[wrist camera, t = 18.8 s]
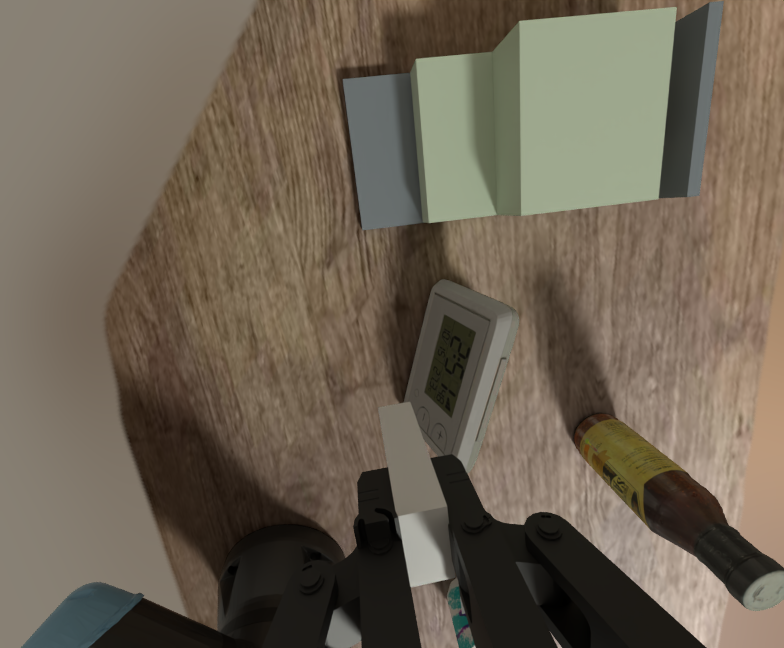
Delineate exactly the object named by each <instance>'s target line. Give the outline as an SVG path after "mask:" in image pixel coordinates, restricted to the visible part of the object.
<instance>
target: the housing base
mask: <svg viewBox="0 0 784 648" xmlns="http://www.w3.org/2000/svg"><path fill="white" fill-rule="evenodd" d="M723 2H724V1H719V2H709V3H708V4H706V5H704V6H703V7H701V8H699V9H697V10H696V11H694V12H692V13H691V14H689V15H687V16H685V17H684V18H682V19H680V20H678V21H677V22H675V30H674V41H673V51H672V62H671V73H670V83H669V94H668V104H667V115H666V125H665V136H664V146H663V157H662V167H661V178H660V188H659V198H674V197H691V196H699V194H700V186H701V178H702V170H703V162H704V154H705V146H706V138H707V130H708V122H709V114H710V106H711V98H712V90H713V82H714V74H715V66H716V58H717V50H718V42H719V34H720V26H721V18H722V10H723ZM343 87H344V95H345V102H346V110H347V117H348V125H349V133H350V140H351V148H352V155H353V163H354V171H355V178H356V186H357V193H358V201H359V209H360V216H361V224H362V230H368V229H377V228H385V227H393V226H402V225H410V224H418V223H425V222H423V219H422V207H421V195H420V183H419V171H418V160H417V148H416V136H415V124H414V112H413V100H412V88H411V77H410V73H402V74H392V75H381V76H371V77H360V78H350V79H343Z"/></svg>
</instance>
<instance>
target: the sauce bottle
mask: <svg viewBox="0 0 784 648" xmlns="http://www.w3.org/2000/svg"><path fill="white" fill-rule="evenodd" d="M574 441H575V445H576V448H577V449H578V451H579V453H580V454H581V455H582V457H583V458H584V459H585V460H586V462H587V463H588V464H589V465H590V466H591V467H592V468H593V469H594V470H595V471H596V472H597V473H598V474H599V475H600V477H601V478H602V479H603V480H604V481H605V482H606V483H607V484H608V485H609V486H610V487H611V488H612V489H613V490H614V491H615V493H616V494H617V495H618V496H619V497H620V498H621V499H622V500H623V501H624V502H625V503H626V504H627V505H628V506H629V507H630V508H631V509H632V511H633V512H634V513H635V514H636V515H637V516H638V517H639V518H640V519H641V520H642V521H643V522H644V523H645V524H646V525H647V526H648V528H649V529H650V530H651V531H653V532H654V533H656V534H658V535H659V536H661V537H663V538H665V539H666V540H668V541H670V542H672V543H674V544H675V545H677V546H679V547H681V548H682V549H684V550H686V551H687V552H689V553H691V554H692V555H694V556H696V557H697V558H698V560H699V561H700V562H702V563H703V564H705V565H706V566H707V567H708V568H709V569H710V570H711V571H712V572H713V573H714V574H715V575H716V577H718V578H719V579H720V580H721V581H722V582H723V583H724V584H725V586H726V588H727V590H728V591H729V593H730V594H731V595H732V596H733V597H734V598H735V599H737V600H738V601H739V602H740V603H741V604H742V605H743V606H744V607H745V608H747V609H749V610H753V611H760V610H765V609H768V608H771V607H773V606H775V605H777V604H778V603H780V602H781V601H782V600H783V599H784V568H783V567H782V566H781V565H780V564H778V563H777V562H776V561H775V560H773V559H772V558H770V557H768V556H767V555H765V554H763V553H761V552H760V551H759V550H758V549H756V548H755V547H754V546H753V545H752V544H751V543H749V542H748V541H747V540H746V539H744V538H743V537H742V536H741V535H740V533H739V532H738V531H737V530H736V529H734V528H733V527H731V526H729V525H728V523H727V520H726V518H725V515H724V513H723V509H722V507H721V506H720V504H719V502H718V500H717V499H716V498H715V496H713V495H712V494H711V493H710V492H709V491H708V490H707V489H706V488H705V487H703V486H701V485H700V484H699V483H698V482H696V481H695V480H694V479H692V478H691V477H690V475H689V474H688V473H687V472H686V471H684V470H683V469H682V468H681V467H679V466H678V465H677V464H676V463H674V462H673V461H672V460H670V459H669V458H668V457H667V456H665V455H664V454H663V453H661V452H660V451H659V450H658V449H656V448H655V447H654V446H653V445H651V444H650V443H649V442H648V441H646V440H645V439H644V438H643V437H641V436H640V435H639V434H638V433H636V432H635V431H634V430H632V429H631V428H630V427H628V426H627V425H626V424H625V423H623V422H621V421H619V420H618V419H617V418H615V417H613V416H612V415H609V414H602V413H600V414H595V415H591V416H590V417H588V418H586V419H585V420H584V421H583V422H581V424H580V425H579V426H578V427H577V429H576V431H575V435H574Z"/></svg>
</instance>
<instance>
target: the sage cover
mask: <svg viewBox="0 0 784 648" xmlns="http://www.w3.org/2000/svg"><path fill="white" fill-rule="evenodd" d="M676 9H677V7H672V8H660V9H649V10H638V11H626V12H615V13H604V14H592V15H581V16H570V17H558V18H547V19H536V20H524V21H519V22H518V23H517V24H516V25H515V27H514V28H513V29H512V30H511V31H510V32H509V33H508V35H507V36H506V37H505V38H504V39H503V40H502V41H501V42H500V44H499V45H498V46H497V47H496V48H495V49H494V50H493V52H485V53H474V54H463V55H452V56H442V57H431V58H420V59H416V60H415V62H414V65H413V67H412V69H411V72H410V77H411V88H412V100H413V112H414V124H415V136H416V148H417V160H418V171H419V183H420V195H421V207H422V219H423V222H425V223H434V222H442V221H451V220H459V219H467V218H476V217H484V216H492V215H513V216H524V215H532V214H540V213H548V212H556V211H565V210H573V209H581V208H589V207H598V206H606V205H614V204H622V203H631V202H639V201H647V200H655V199H659V188H660V178H661V167H662V157H663V146H664V136H665V125H666V115H667V104H668V94H669V83H670V73H671V62H672V51H673V41H674V30H675V20H676Z"/></svg>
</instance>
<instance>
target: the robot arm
mask: <svg viewBox="0 0 784 648" xmlns="http://www.w3.org/2000/svg"><path fill="white" fill-rule="evenodd" d="M378 411H379V417H380V423H381V429H382V435H383V442H384V448H385V454H386V460H387V466H388V467H387V468H382V469H377V470H371V471H366V472H362V474H361V476H360V478H359V480H358V482H357V486H358V509H359V514H358V516H357V517H356V519H355V521H354V525H353V528H354V533H355V538H356V543H357V547H356V548H355V550H354V551H353V552H352V553H351V554H350V555H349V556H348V557H347V558H345V556H344V554H343V552H342V550H341V549H340V547H339V546H338V545H337V544H336V543H335V542H334V541H333V540H332V539H331V538H329V537H328V536H327V535H325V534H323V533H321V532H319V531H317V530H314V529H312V528H308V527H304V526H298V525H277V526H271V527H267V528H263V529H260V530H258V531H255V532H253V533H251V534H249V535H248V536H246V537H245V538H243V539H242V540H241V541H239V542H238V543H237V544H236V545H235V546H234V547H233V549H232V550H231V551H230V553H229V555H228V556H227V559H226V561H225V564H224V567H223V570H222V572H221V575H220V579H219V584H218V629H217V631H216V630H214V629H212V628H209V627H207V626H205V625H203V624H201V623H198V622H196V621H194V620H192V619H189V618H187V617H185V616H182V615H180V614H178V613H176V612H174V611H172V610H169V609H167V608H165V607H163V606H160V605H158V604H156V603H154V602H152V601H149V600H147V599H145V598H143V596H144V595H143V594H142V593H138V594H132V593H130V592H127V591H125V590H122V589H119V588H116V587H114V586H111V585H108V584H106V583H101V582H94V583H89V584H86V585H83V586H82V587H80V588H78V589H77V590H75V591H73V592H72V593H71V594H70V595H69V596H68V597H67V598H66V599H65V600H64V601H63V602H62V603H61V604H60V605H59V606H58V607H57V608H56V610H55V611H54V612H53V613H52V614H51V615H50V616H49V617H48V618H47V619H46V621H45V622H44V623H43V624H42V625H41V626H40V627H39V628H38V629H37V631H35V633H34V634H33V635H32V636H31V637H30V638H29V639H28V640H27V641H26V643H25V644H24V645H23V646H22V647H21V648H351V647H352V646H353V645H355V644H357V643H358V642H360V641H362V648H421V643H420V638H419V632H418V626H417V621H416V615H415V610H414V604H413V598H412V593H411V587H415V586H420V585H424V584H429V583H434V582H438V581H443V580H447V579H452V578H455V572H456V576H457V579H458V583H459V592H460V600H461V609H462V614H466V617H467V620H468V624H469V627H470V630H471V634H472V637H473V640H474V644H475V647H476V648H558V647H557V645H556V643H555V641H554V639H553V637H552V635H553V636H554V637H555V639H556V640H557V641H558V643H559V644H560V645H561V647H562V648H706V647H705V646H704V645H703V644H702V643H701V642H700V641H698V640H697V639H696V638H695V637H694V636H693V635H692V634H691V633H690V632H689V631H687V630H686V629H685V628H684V627H683V626H682V625H681V624H680V623H679V622H678V621H676V620H675V619H674V618H673V617H672V616H671V615H670V614H669V613H668V612H667V611H665V610H664V609H663V608H662V607H661V606H660V605H659V604H658V603H657V602H656V601H654V600H653V599H652V598H651V597H650V596H649V595H648V594H647V593H646V592H644V591H643V590H642V589H641V588H640V587H639V586H638V585H637V584H636V583H635V582H633V581H632V580H631V579H630V578H629V577H628V576H627V575H626V574H625V573H624V572H622V571H621V570H620V569H619V568H618V567H617V566H616V565H615V564H614V563H613V562H611V561H610V560H609V559H608V558H607V557H606V556H605V555H604V554H603V553H602V552H600V551H599V550H598V549H597V548H596V547H595V546H594V545H593V544H592V543H591V542H589V541H588V540H587V539H586V538H585V537H584V536H583V535H582V534H581V533H580V532H578V531H577V530H576V529H575V528H574V527H573V526H572V525H571V524H570V523H569V522H567V521H566V520H565V519H563V518H562V517H560V516H558V515H555V514H552V513H548V512H539V513H535V514H532V515H531V516H529V517H528V518H527V520H526V522H525V524H524V525H517V524H507V523H503V522H500V521H497V520H495V519H494V518H493V517H492V516H491V514H489V513H487V512H486V511H485V509H484V508H483V506H482V504H481V502H480V499H479V497H478V495H477V493H476V491H475V489H474V487H473V485H472V483H471V481H470V479H469V476H468V474H467V472H466V470H465V468H464V466H463V464H462V462H461V461H460V460H459V459H458V458H457V457H455V456H454V455H453V454H449V455H444V456H439V457H434V458H430V456H429V453H428V451H427V448H426V445H425V442H424V439H423V436H422V433H421V431H420V428H419V425H418V422H417V419H416V416H415V414H414V411H413V408H412V405H411V402H405V403H400V404H394V405H389V406H383V407H378ZM454 569H455V570H454ZM550 632H551V633H552V635H551V633H550Z"/></svg>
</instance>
